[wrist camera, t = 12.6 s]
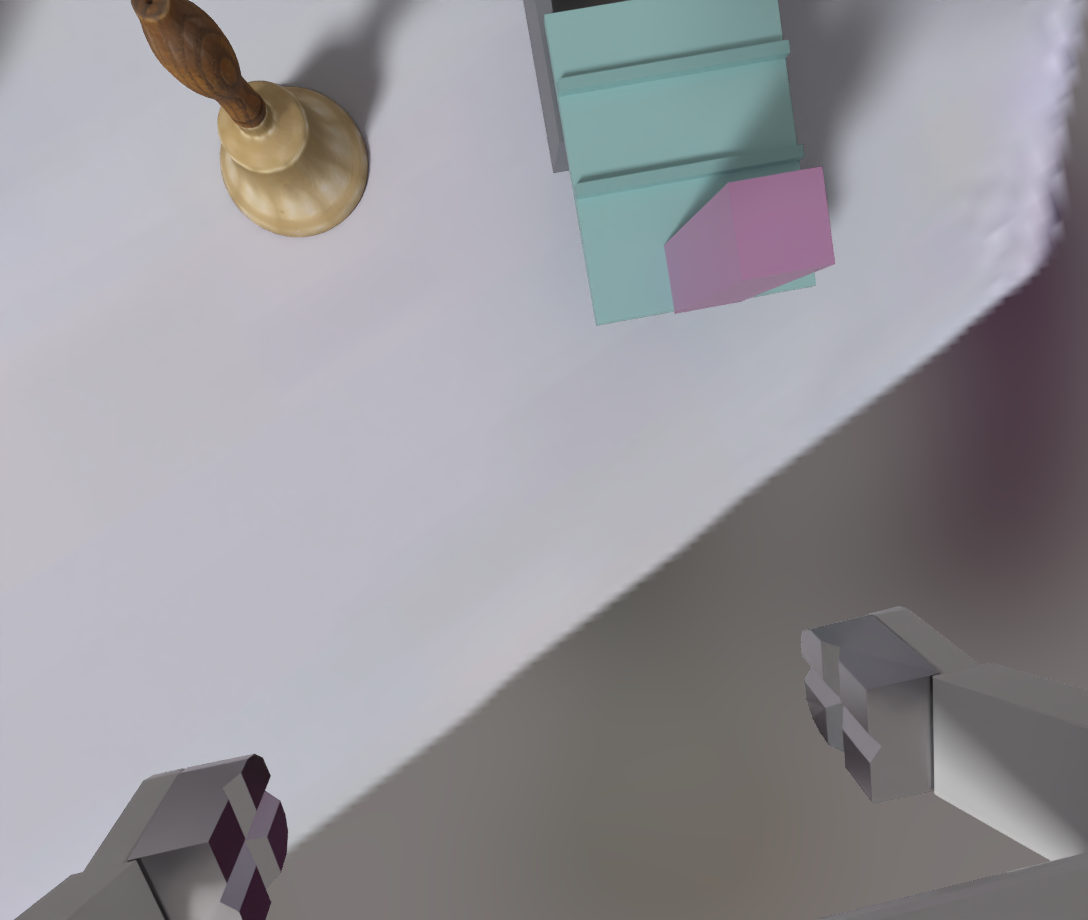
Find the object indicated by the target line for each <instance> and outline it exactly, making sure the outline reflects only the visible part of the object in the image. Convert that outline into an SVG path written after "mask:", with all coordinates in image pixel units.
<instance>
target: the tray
mask: <svg viewBox="0 0 1088 920" xmlns="http://www.w3.org/2000/svg"><path fill="white" fill-rule="evenodd" d="M523 1H524V7H525V12H526V18H527V24H528V30H529V35H530V41H531V47H532V53H533V58H534V64H535V70H536V76H537V81H538V87H539V93H540V99H541V104H542V110H543V116H544V122H545V127H546V133H547V139H548V144H549V150H550V156H551V162H552V167H553V173H556V172H562V171H568V170H569V165H568V159H567V153H566V148H565V142H564V136H563V130H562V124H561V118H560V113H559V107H558V101H557V95H556V89H555V83H554V78H553V72H552V66H551V60H550V54H549V49H548V43H547V37H546V31H545V25H544V15H545V14H551V13H557V12H563V11H569V10H575V9H581V8H587V7H593V6H599V5H605V4H611V3H617V2H623V1H629V0H523Z"/></svg>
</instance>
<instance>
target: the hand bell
mask: <svg viewBox="0 0 1088 920" xmlns="http://www.w3.org/2000/svg"><path fill="white" fill-rule="evenodd" d="M131 4H132V7H133V9H134V11H135V13H136V14H137V16H138V18H139V20H140V23H141V25H142V29H143V32H144V34H145V37H146V39H147V41H148V43H149V45H150V47H151V49H152V51H153V53H154V54H155V56H156V57H157V59H158V60H159V61H160V63H161V64H162V65H163V66H164V67H165V68H166V69H167V70H168V71H169V72H170V73H171V74H172V75H173V76H174V77H175V78H176V79H177V80H179V81H180V82H181V83H182V84H184V85H185V86H186V87H188V88H189V89H191V90H193V91H194V92H196V93H198V94H200V95H203V96H205V97H208V98H212V99H215V100H216V101H217V102H218V103H219V104H220V105H221V107H220V111H219V114H218V133H219V137H220V140H221V150H220V164H221V172H222V176H223V180H224V183H225V186H226V189H227V190H228V192H229V195H230V197H231V198H232V200H233V201H234V203H235V204H236V206H237V207H238V208H239V209H240V211H241V212H242V213H243V214H244V215H245V216H246V217H247V218H249V219H250V220H251V221H253V222H254V223H255V224H257V225H259V226H260V227H262V228H264V229H266V230H268V231H271V232H273V233H276V234H280V235H284V236H289V237H307V236H312V235H317V234H320V233H323V232H326V231H328V230H330V229H332V228H334V227H335V226H337V225H338V224H340V223H341V222H342V221H343V220H345V219H346V218H347V217H348V216H349V215H350V214H351V212H352V211H353V210H354V208H355V207H356V206H357V204H358V203H359V201H360V199H361V197H362V194H363V192H364V188H365V185H366V180H367V173H368V160H367V151H366V147H365V144H364V141H363V138H362V135H361V133H360V131H359V129H358V128H357V126H356V124H355V123H354V121H353V120H352V118H351V117H350V116H349V114H348V113H347V112H346V111H345V110H344V109H343V108H342V107H341V106H340V105H338V104H337V103H336V102H335V101H333V100H332V99H330V98H328V97H327V96H325V95H323V94H321V93H318V92H316V91H313V90H310V89H306V88H301V87H282V86H280V85H278V84H275V83H271V82H267V81H251V82H248V83H247V82H246V81H245V80H244V78H243V77H242V76H241V71H240V67H239V63H238V60H237V57H236V55H235V52H234V50H233V48H232V46H231V44H230V43H229V41H228V39H227V38H226V36H225V35H224V33H223V32H222V31H221V29H220V28H219V27H218V25H217V24H216V23H215V22H214V20H213V19H212V18H211V17H210V16H209V15H208V14H207V13H206V12H204V11H203V10H202V9H201V8H199V7H198V6H197V5H195V4H194V3H193V2H191V1H189V0H131Z"/></svg>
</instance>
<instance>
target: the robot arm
mask: <svg viewBox="0 0 1088 920" xmlns="http://www.w3.org/2000/svg"><path fill="white" fill-rule="evenodd" d="M801 649H802V656H803V657H804V658H805V659H806V661H807V662H808V663H809V664H810V666H811V667H812V668H811V670H810V672H809V673H808V675H807V676H806V678H805V680H804V684H805V693H806V700H807V703H808V706H809V710H810V712H811V715H812V719H813V720H814V723H815V724H816V726H817V728H818V730H819V732H820V734H821V735H822V736H823V738H824V739H825V741H826V742H827V743H828V745H830V746H832V747H834V748H836V749H839V750H841V751H843V752H844V757H845V768H846V769H847V770H848V772H849V773H850V774H851V776H852V777H853V778H854V780H855V781H856V782H857V784H858V785H859V786H860V787H861V789H862V790H863V792H864V793H865V794H866V796H867V797H868V798H869V800H870V801H871V802H872V803H878V802H883V801H888V800H893V799H898V798H903V797H907V796H912V795H917V794H921V793H927V792H931V791H934V794H935V795H937V796H939V797H940V798H942V799H944V800H946V801H947V802H949V803H951V804H953V805H955V806H956V807H958V808H960V809H961V810H963V811H965V812H967V813H968V814H970V815H972V816H974V817H975V818H977V819H979V820H981V821H982V822H984V823H986V824H988V825H989V826H991V827H993V828H995V829H996V830H998V831H1000V832H1002V833H1003V834H1005V835H1007V836H1009V837H1010V838H1012V839H1014V840H1016V841H1017V842H1019V843H1021V844H1023V845H1024V846H1026V847H1028V848H1030V849H1031V850H1033V851H1035V852H1037V853H1038V854H1040V855H1042V856H1044V857H1045V858H1047V859H1049V860H1051V861H1050V862H1045V863H1042V864H1038V865H1033V866H1029V867H1025V868H1021V869H1017V870H1013V871H1009V872H1005V873H1001V874H997V875H993V876H989V877H985V878H981V879H977V880H973V881H969V882H965V883H960V884H956V885H952V886H948V887H944V888H940V889H936V890H932V891H928V892H924V893H921V894H916V895H912V896H908V897H904V898H900V899H896V900H892V901H888V902H884V903H880V904H876V905H872V906H868V907H863V908H859V909H855V910H851V911H847V912H842V913H838V914H834V915H830V916H826V917H822V918H818V919H814V920H1088V690H1084V689H1081V688H1077V687H1074V686H1070V685H1067V684H1063V683H1060V682H1056V681H1053V680H1049V679H1045V678H1042V677H1039V676H1035V675H1032V674H1028V673H1025V672H1021V671H1018V670H1014V669H1011V668H1007V667H1004V666H1000V665H997V664H994V663H988V664H983V665H980V664H978V663H977V662H976V661H975V660H973V659H972V658H971V657H969V656H968V655H967V654H965V653H964V652H963V651H962V650H960V649H959V648H958V647H956V646H955V645H954V644H953V643H951V642H950V641H949V640H947V639H946V638H945V637H944V636H942V635H941V634H940V633H938V632H937V631H936V630H935V629H933V628H932V627H931V626H929V625H928V624H927V623H925V622H924V621H923V620H922V619H920V618H919V617H918V616H917V615H915V614H914V613H912V612H911V611H910V610H909V609H907V608H904V607H900V606H898V607H895V608H890V609H887V610H883V611H879V612H875V613H871V614H867V616H863V617H859V618H854V619H850V620H846V621H842V622H838V623H833V624H829V625H825V626H821V627H817V628H813V629H808V630H804V631H803V632H802V637H801ZM270 776H271V775H270V773H269V771H268V769H267V766H266V764H265V762H264V759H263V758H262V757H260V756H258V755H256V754H251V755H246V756H241V757H236V758H232V759H227V760H222V761H217V762H212V763H207V764H202V765H197V766H192V767H188V768H186V769H178V770H174V771H169V772H165V773H160V774H156V775H153V776H151V777H149V778H147V779H146V780H144V781H143V782H142V783H141V785H140V787H139V788H138V790H137V791H136V793H135V794H134V796H133V797H132V799H131V800H130V802H129V803H128V805H127V806H126V808H125V809H124V811H123V812H122V814H121V815H120V817H119V818H118V820H117V821H116V823H115V824H114V826H113V827H112V829H111V830H110V832H109V833H108V835H107V836H106V838H105V840H104V841H103V843H102V844H101V846H100V847H99V849H98V850H97V852H96V853H95V855H94V856H93V858H92V859H91V861H90V862H89V864H88V865H87V867H86V868H85V870H84V871H83V872H82V873H77V874H73V875H70V876H69V877H68V878H67V879H65V880H64V881H63V882H61V883H60V884H59V885H58V886H56V887H55V888H54V889H53V890H51V891H50V892H49V893H47V894H46V895H45V896H44V897H42V898H41V899H40V900H39V901H37V902H36V903H35V904H33V905H32V906H31V907H30V908H28V909H27V910H26V911H25V912H23V913H22V914H21V915H19V916H18V917H17V918H16V919H14V920H266V917H267V914H268V911H269V908H270V905H271V900H270V898H269V895H268V893H267V891H266V888H267V887H268V886H269V885H270V884H271V883H272V882H273V881H274V880H275V879H276V878H277V877H278V875H279V874H280V873H281V871H282V868H283V865H284V861H285V858H286V855H287V841H288V828H287V822H286V816H285V812H284V810H283V807H282V804H281V801H280V800H278V799H277V798H275V797H274V796H272V795H271V794H269V793H268V792H266V791H265V789H266V787H267V784H268V782H269V779H270Z"/></svg>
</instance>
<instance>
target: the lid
mask: <svg viewBox="0 0 1088 920" xmlns="http://www.w3.org/2000/svg"><path fill="white" fill-rule="evenodd" d="M544 25H545V31H546V37H547V43H548V49H549V54H550V60H551V66H552V72H553V78H554V83H555V89H556V95H557V101H558V107H559V113H560V118H561V124H562V130H563V136H564V142H565V148H566V153H567V159H568V165H569V171H570V177H571V183H572V188H573V194H574V200H575V206H576V212H577V217H578V223H579V229H580V235H581V241H582V247H583V252H584V258H585V264H586V270H587V276H588V282H589V287H590V293H591V299H592V305H593V311H594V317H595V322H596V326H598V325H604V324H609V323H615V322H620V321H626V320H631V319H637V318H642V317H648V316H653V315H659V314H664V313H670V312H675V314H676V313H681V312H687V311H692V310H698V309H703V308H709V307H714V306H720V305H725V304H731V303H736V302H741V301H744V300H746V299H749V298H752V297H758V296H763V295H769V294H774V293H780V292H785V291H791V290H796V289H802V288H807V287H812V286H815V285H816V281H815V273H814V272H816V271H818V270H821V269H823V268H826V267H828V266H831V265H833V264H835V259H834V252H833V244H832V236H831V229H830V221H829V214H828V206H827V198H826V191H825V183H824V175H823V168H822V166H820V167H815V168H809V169H803V170H800V162H799V161H800V160H801V159H802V158H803V157H804V149H803V144H801V145H797V140H796V132H795V125H794V118H793V110H792V103H791V95H790V88H789V81H788V73H787V66H786V57H787V56H788V55H789V54H790V44H789V40H783V36H782V29H781V21H780V14H779V6H778V0H629V1H623V2H617V3H611V4H605V5H599V6H593V7H587V8H581V9H575V10H569V11H563V12H557V13H551V14H545V15H544Z"/></svg>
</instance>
